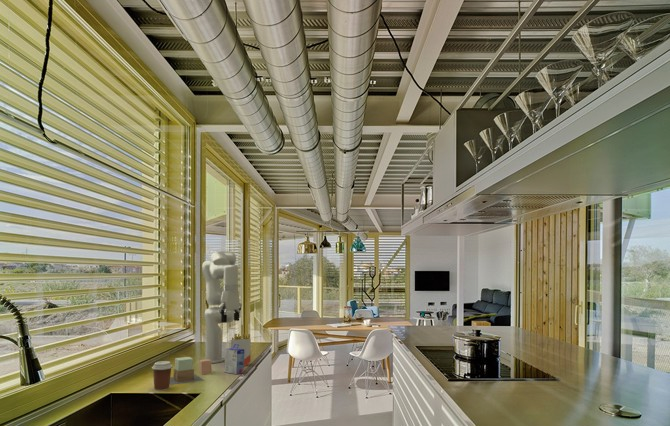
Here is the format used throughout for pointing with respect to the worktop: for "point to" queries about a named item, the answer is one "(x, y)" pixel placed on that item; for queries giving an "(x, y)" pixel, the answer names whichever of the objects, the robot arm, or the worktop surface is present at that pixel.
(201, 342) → the worktop surface
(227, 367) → the ink cartridge box
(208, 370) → the block pick
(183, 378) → the block bottom
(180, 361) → the block top
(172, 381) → the mat
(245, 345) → the french fries container
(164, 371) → the coffee cup
